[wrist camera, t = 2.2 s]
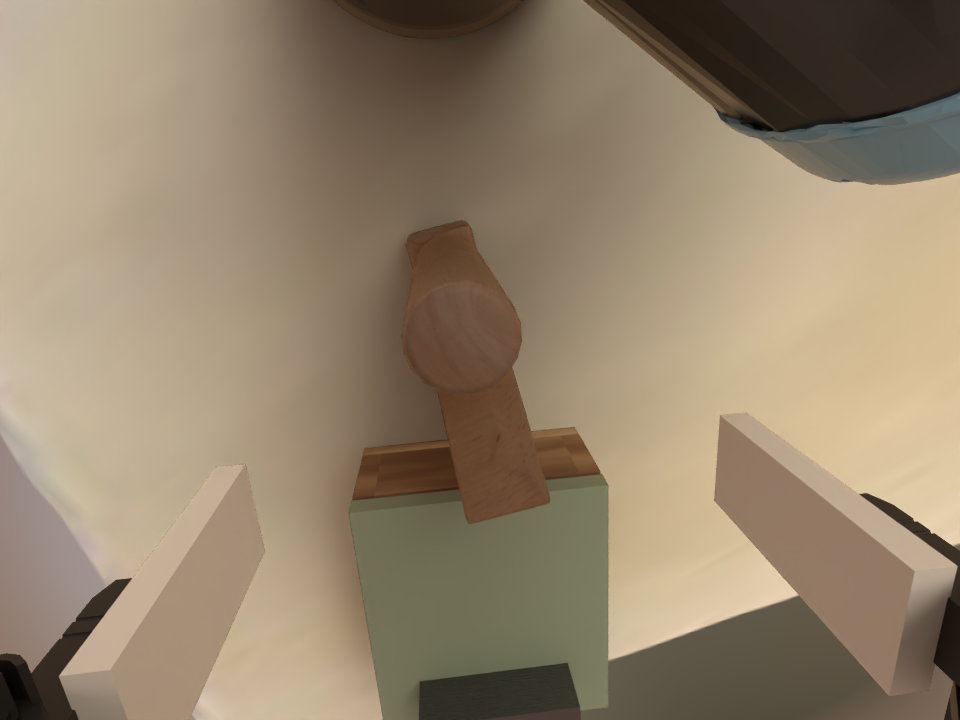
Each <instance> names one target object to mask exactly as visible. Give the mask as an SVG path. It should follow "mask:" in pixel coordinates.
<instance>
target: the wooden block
mask: <svg viewBox="0 0 960 720" xmlns="http://www.w3.org/2000/svg"><path fill="white" fill-rule="evenodd" d="M406 247H407V250H408V254H409V257H410V261H411V264H412V267H413V271H414V273H413V278H412V283H411V288H410V293H409V299H408V304H407V309H406V314H405V320H404V325H403V330H402V335H401V336H402V344H403V351H404V355H405V357H406V359H407V361H408V363H409V365H410V367H411V369H412V370H413V371H414V372H415V373H416V374H417V375H418V376H419V377H420V379H421V380H422V381H423V382H424V383H426V384H428V385H430V386H432V387H434V388H436V389H437V391H438V396H439V400H440V405H441V409H442V414H443V418H444V423H445V427H446V432H447V436H448V441H449V446H450V450H451V455H452V459H453V464H454V468H455V473H456V477H457V482H458V486H459V491H460V495H461V500H462V504H463V509H464V513H465V518H466V520H467V522H468V524H474V523H478V522H481V521H485V520H489V519H493V518H497V517H500V516H504V515H508V514H512V513H516V512H519V511H523V510H527V509H531V508H535V507H538V506H542V505H546V504H549V503H550V494H549V491H548V487H547V484H546V480H545V477H544V474H543V470H542V467H541V464H540V460H539V457H538V453H537V450H536V447H535V443H534V440H533V436H532V433H531V430H530V426H529V423H528V419H527V416H526V413H525V409H524V406H523V402H522V399H521V396H520V392H519V389H518V386H517V382H516V379H515V375H514V372H513V369H512V366H513V364H514V363H515V361H516V359H517V357H518V353H519V350H520V346H521V342H522V337H521V323H520V320H519V318H518V316H517V313H516V311H515V308H514V306H513V304H512V303H511V301H510V300H509V298H508V297H507V295H506V294H505V292H504V291H503V289H502V288H501V286H500V284H499V283H498V281H497V280H496V278H495V277H494V275H493V274H492V272H491V271H490V269H489V268H488V266H487V265H486V263H485V262H484V260H483V258H482V257H481V255H480V254H479V252H478V251H477V249H476V245H475V241H474V237H473V233H472V229H471V227H470V226H469V224H468V223H467V222H466V221H463V220H461V221H457V222H453V223H449V224H446V225H442V226H438V227H434V228H431V229H427V230H423V231H419V232H416V233H412V234H411V235H409V237H408V239H407V243H406Z"/></svg>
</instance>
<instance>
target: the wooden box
mask: <svg viewBox="0 0 960 720" xmlns="http://www.w3.org/2000/svg"><path fill="white" fill-rule="evenodd" d="M531 433H532V436H533V440H534V443H535V447H536V450H537V453H538V457H539V460H540V464H541V467H542V470H543V474H544V477H545V480H552V479H561V478H570V477H580V476H589V475H599V474H600V470H599V468H598V466H597V465H596V463H595V461H594V460H593V458H592V456H591V454H590V453H589V451H588V449H587V448H586V446H585V444H584V442H583V441H582V439H581V437H580V435H579V434H578V432H577V430H576V429H575V427H571V428H562V429H552V430H542V431H532V432H531ZM457 489H459V486H458V482H457V477H456V473H455V468H454V464H453V459H452V455H451V450H450V446H449V441H448V440H443V441H433V442H423V443H413V444H403V445H393V446H383V447H374V448H365V450H364V454H363V458H362V462H361V466H360V470H359V474H358V478H357V482H356V486H355V490H354V494H353V501H354V500H363V499H373V498H382V497H392V496H401V495H410V494H420V493H429V492H439V491H448V490H457Z"/></svg>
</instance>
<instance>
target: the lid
mask: <svg viewBox="0 0 960 720" xmlns="http://www.w3.org/2000/svg"><path fill="white" fill-rule="evenodd" d="M546 484H547V487H548V491H549V494H550V503H549V504H546V505H542V506H538V507H535V508H531V509H527V510H523V511H519V512H516V513H512V514H508V515H504V516H500V517H497V518H493V519H489V520H485V521H481V522H478V523H474V524H468V522H467V520H466V518H465V513H464V509H463V504H462V500H461V495H460V491H459V489H457V490H448V491H439V492H429V493H420V494H410V495H401V496H392V497H382V498H373V499H363V500H354V501H352V502H351V506H350V510H349V518H350V524H351V530H352V536H353V542H354V548H355V554H356V560H357V566H358V572H359V578H360V584H361V590H362V596H363V602H364V608H365V614H366V620H367V626H368V632H369V638H370V644H371V649H372V655H373V661H374V667H375V673H376V679H377V685H378V691H379V697H380V703H381V709H382V715H383V720H580V711H582V710H589V709H597V708H605V707H608V484H607V482H606V480H605V479H604V477H603V475H602V474H599V475H589V476H580V477H570V478H561V479H552V480H546Z"/></svg>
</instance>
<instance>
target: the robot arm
mask: <svg viewBox="0 0 960 720" xmlns="http://www.w3.org/2000/svg"><path fill="white" fill-rule="evenodd" d="M334 1H335V2H337V3H338V4H339V5H340V6H341V7H343V8H344V9H345V10H347V11H348V12H350V13H351V14H353V15H354V16H356V17H357V18H359V19H361V20H362V21H364V22H366V23H368V24H370V25H372V26H374V27H377V28H379V29H382V30H384V31H387V32H390V33H393V34H397V35H401V36H405V37H412V38H422V39H439V38H449V37H454V36H459V35H463V34H466V33H470V32H472V31H475V30H478V29H480V28H482V27H484V26H486V25H489V24H490V23H492V22H494V21H496V20H497V19H499V18H500V17H502V16H503V15H505V14H506V13H508V12H509V11H510V10H511V9H513V8H514V7H515V6H516V5H517V4H518V3H519V2H520V1H521V0H334ZM583 1H585V2H586V3H587V4H588V5H590V6H591V7H592V8H593V9H594V10H596V11H597V12H598V13H599V14H601V15H602V16H603V17H604V18H606V19H607V20H608V21H609V22H610V23H612V24H613V25H614V26H615V27H617V28H618V29H619V30H620V31H621V32H623V33H624V34H625V35H626V36H628V37H629V38H630V39H631V40H632V41H634V42H635V43H636V44H637V45H639V46H640V47H641V48H642V49H644V50H645V51H646V52H647V53H648V54H650V55H651V56H652V57H653V58H655V59H656V60H657V61H658V62H659V63H661V64H662V65H663V66H664V67H666V68H667V69H668V70H669V71H670V72H672V73H673V74H674V75H675V76H677V77H678V78H679V79H680V80H682V81H683V82H684V83H685V84H686V85H688V86H689V87H690V88H691V89H693V90H694V91H695V92H696V93H697V94H699V95H700V96H701V97H702V98H704V99H705V100H706V101H707V102H708V103H710V104H711V105H712V106H713V107H714V109H715V110H716V111H717V113H718V115H719V117H720V119H721V120H722V121H723V122H724V123H726V124H727V125H728V126H730V127H731V128H733V129H734V130H735V131H738V132H740V133H742V134H745V135H747V136H750V137H754V138H759V139H760V140H762V141H763V142H765V143H766V144H767V145H769V146H770V147H772V148H773V149H774V150H776V151H777V152H779V153H780V154H782V155H783V156H784V157H786V158H787V159H789V160H790V161H791V162H793V163H794V164H796V165H797V166H799V167H800V168H802V169H804V170H805V171H807V172H809V173H811V174H813V175H816V176H818V177H821V178H824V179H827V180H831V181H835V182H853V181H855V182H862V183H866V184H870V185H873V184H878V185H896V184H903V183H911V182H918V181H925V180H931V179H935V178H940V177H945V176H949V175H953V174H957V173H960V0H583ZM714 501H715V502H716V503H717V504H718V505H719V506H720V507H721V509H722V510H723V511H724V512H725V513H726V514H727V515H728V516H729V517H730V519H731V520H732V521H733V522H734V523H735V524H736V525H737V526H738V528H739V529H740V530H741V531H742V532H743V533H744V534H745V535H746V536H747V538H748V539H749V540H750V541H751V542H752V543H753V544H754V545H755V547H756V548H757V549H758V550H759V551H760V552H761V553H762V554H763V555H764V557H765V558H766V559H767V560H768V561H769V562H770V563H771V564H772V565H773V567H774V568H775V569H776V570H777V571H778V572H779V573H780V574H781V576H782V577H783V578H784V579H785V580H786V581H787V582H788V583H789V584H790V586H791V587H792V588H793V589H794V590H795V591H796V592H797V593H798V595H799V596H800V597H801V598H802V599H803V600H804V601H805V602H806V603H807V605H808V606H809V607H810V608H811V609H812V610H813V611H814V612H815V614H816V615H817V616H818V617H819V618H820V619H821V620H822V621H823V622H824V623H825V625H827V627H828V628H829V629H830V630H831V631H832V632H833V634H834V635H835V636H836V637H837V638H838V639H839V640H840V641H841V643H842V644H843V645H844V646H845V647H846V648H847V649H848V650H849V651H850V653H851V654H852V655H853V656H854V657H855V658H856V659H857V660H858V662H859V663H860V664H861V665H862V666H863V667H864V668H865V669H866V670H867V672H868V673H869V674H870V675H871V676H872V677H873V678H874V679H875V681H876V682H877V683H878V684H879V685H880V686H881V687H882V688H883V689H884V691H885V692H886V693H887V694H888V695H889V696H893V695H900V694H908V693H915V692H922V691H929V687H930V683H931V679H932V675H933V670H934V666H935V664H936V665H937V666H938V667H939V668H940V669H941V670H942V671H943V672H944V673H945V674H946V675H948V676H949V677H950V678H951V679H952V680H953V686H952V690H951V694H950V698H949V702H948V706H947V710H946V714H945V718H944V720H960V551H959V550H958V549H956V548H955V547H953V546H952V545H950V544H949V543H948V542H946V541H945V540H943V539H942V538H940V537H939V536H937V535H936V534H935V533H933V534H931V532H930V530H929V529H927V528H926V527H925V526H923V525H922V524H920V523H919V522H914V520H913V518H912V517H910V516H909V515H907V514H906V513H904V512H903V511H901V510H900V509H899V508H897V507H896V506H894V505H893V504H890V503H888V502H886V501H884V500H881V499H879V498H877V497H874V496H872V495H870V494H867V493H865V494H858V493H856V492H855V491H854V490H852V489H851V488H850V487H848V486H847V485H845V484H844V483H843V482H841V481H840V480H839V479H837V478H836V477H834V476H833V475H832V474H830V473H829V472H827V471H826V470H825V469H823V468H822V467H821V466H819V465H818V464H816V463H815V462H814V461H812V460H811V459H810V458H808V457H807V456H805V455H804V454H803V453H801V452H800V451H799V450H797V449H796V448H794V447H793V446H792V445H790V444H789V443H788V442H786V441H785V440H783V439H782V438H781V437H779V436H778V435H777V434H775V433H774V432H772V431H771V430H770V429H768V428H767V427H765V426H764V425H763V424H761V423H760V422H759V421H757V420H756V419H754V418H753V417H752V416H750V415H749V414H748V413H737V414H728V415H720V424H719V439H718V453H717V468H716V483H715V498H714ZM264 552H265V549H264V545H263V540H262V536H261V531H260V527H259V523H258V518H257V514H256V509H255V505H254V500H253V496H252V491H251V487H250V483H249V478H248V474H247V469H246V465H245V464H241V465H231V466H222V467H216V468H215V469H214V471H213V472H212V473H211V475H210V476H209V477H208V478H207V480H206V481H205V482H204V484H203V485H202V486H201V488H200V489H199V490H198V492H197V493H196V494H195V496H194V497H193V498H192V500H191V501H190V502H189V504H188V505H187V506H186V508H185V509H184V510H183V512H182V513H181V514H180V516H179V517H178V518H177V520H176V521H175V522H174V524H173V525H172V526H171V528H170V529H169V530H168V532H167V533H166V534H165V536H164V537H163V538H162V540H161V541H160V542H159V544H158V545H157V546H156V548H155V549H154V550H153V552H152V553H151V554H150V556H149V557H148V558H147V560H146V561H145V562H144V564H143V565H142V566H141V568H140V569H139V570H138V572H137V573H136V574H135V576H134V577H133V578H129V579H120V580H116V581H114V582H113V583H112V584H110V585H109V586H108V587H106V588H105V589H104V590H102V591H101V592H100V593H98V594H97V595H96V596H95V597H93V598H92V599H91V601H90V602H89V603H88V604H87V605H86V607H85V608H84V609H83V610H82V612H81V613H80V614H79V615H78V616H77V618H76V622H73V623H72V624H71V625H70V626H69V628H68V629H67V630H66V631H65V633H64V634H63V637H62V639H59V640H58V641H57V642H56V644H55V645H54V646H53V647H52V648H51V650H50V651H49V652H48V653H47V655H46V656H45V657H44V658H43V659H42V661H41V662H40V663H39V665H38V666H37V667H36V668H35V669H34V671H33V672H32V673H30V670H29V668H28V665H27V663H26V661H25V660H24V659H23V658H22V657H21V656H20V655H15V654H7V653H6V654H1V655H0V720H189V719H190V717H191V715H192V712H193V710H194V708H195V706H196V703H197V701H198V699H199V697H200V695H201V692H202V690H203V688H204V686H205V683H206V681H207V679H208V677H209V674H210V672H211V670H212V668H213V666H214V663H215V661H216V659H217V657H218V654H219V652H220V650H221V648H222V645H223V643H224V641H225V639H226V637H227V634H228V632H229V630H230V628H231V625H232V623H233V621H234V619H235V616H236V614H237V612H238V610H239V608H240V605H241V603H242V601H243V599H244V596H245V594H246V592H247V590H248V587H249V585H250V583H251V581H252V579H253V576H254V574H255V572H256V570H257V567H258V565H259V563H260V561H261V558H262V556H263V554H264Z"/></svg>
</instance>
